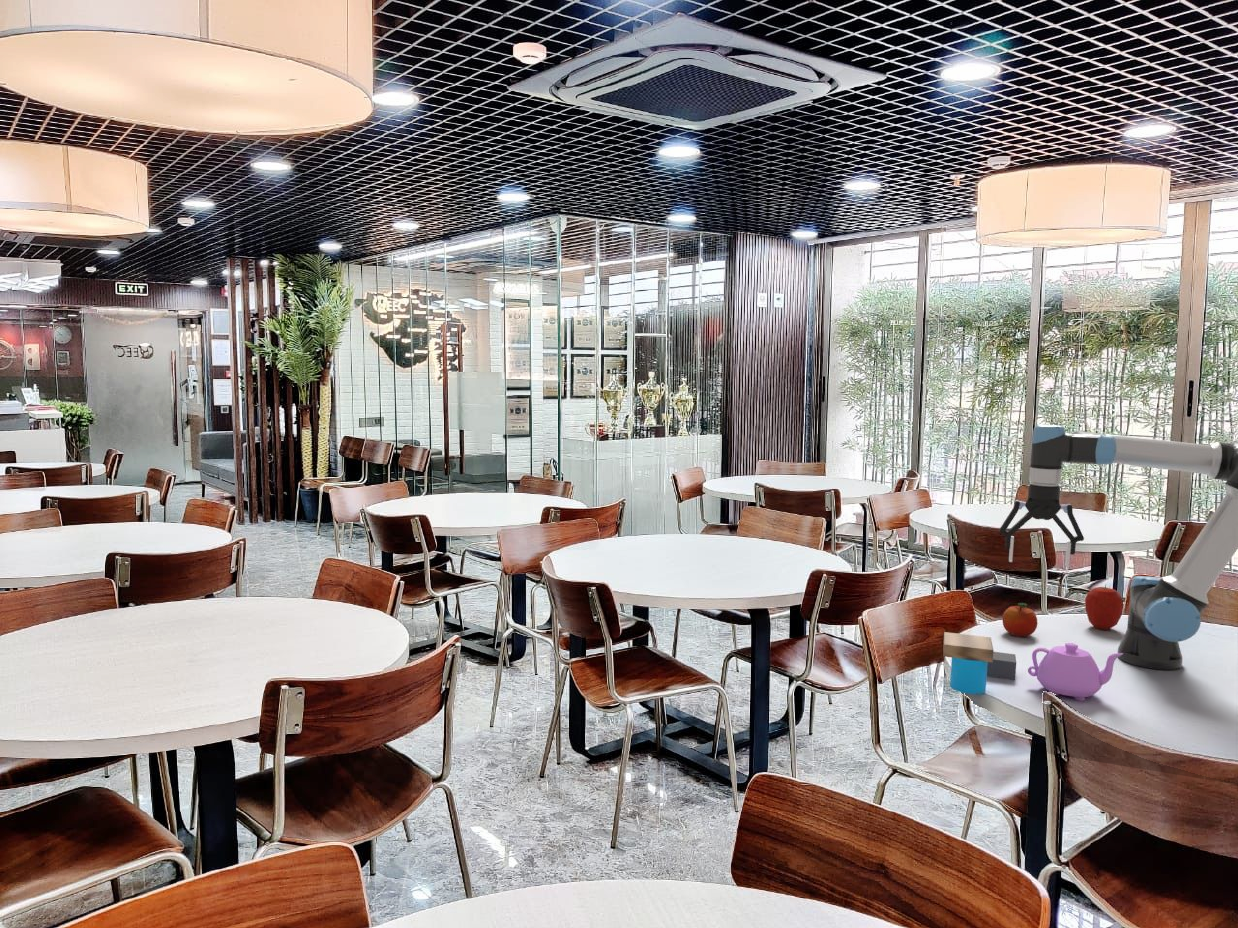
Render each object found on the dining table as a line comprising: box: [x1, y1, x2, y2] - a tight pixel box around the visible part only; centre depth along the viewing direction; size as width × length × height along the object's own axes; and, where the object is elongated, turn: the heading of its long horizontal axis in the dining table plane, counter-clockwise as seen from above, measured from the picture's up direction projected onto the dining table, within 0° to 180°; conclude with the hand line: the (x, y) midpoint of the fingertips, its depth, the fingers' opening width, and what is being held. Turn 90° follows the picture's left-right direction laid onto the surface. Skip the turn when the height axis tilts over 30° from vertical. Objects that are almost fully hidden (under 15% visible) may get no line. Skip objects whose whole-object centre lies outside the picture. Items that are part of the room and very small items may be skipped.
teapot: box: [1027, 642, 1123, 702], centre depth 217 cm, size 20×14×12 cm
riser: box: [987, 651, 1017, 681], centre depth 231 cm, size 7×7×4 cm
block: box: [942, 631, 995, 662], centre depth 221 cm, size 11×11×3 cm
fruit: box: [1001, 602, 1039, 638], centre depth 266 cm, size 10×10×10 cm
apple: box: [1084, 584, 1124, 631], centre depth 274 cm, size 10×10×14 cm
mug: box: [949, 657, 988, 695], centre depth 222 cm, size 12×8×8 cm
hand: (1038, 563), depth 238 cm, fingers open, 13 cm apart
